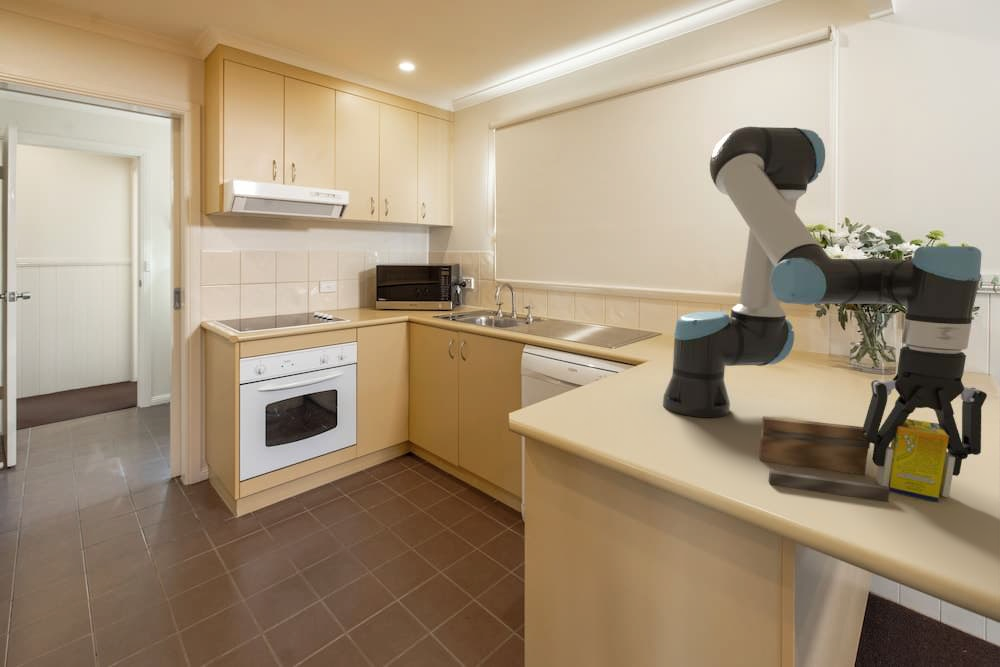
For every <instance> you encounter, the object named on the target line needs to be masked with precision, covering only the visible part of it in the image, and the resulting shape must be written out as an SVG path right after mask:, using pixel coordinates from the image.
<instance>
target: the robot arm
mask: <svg viewBox="0 0 1000 667" xmlns="http://www.w3.org/2000/svg"><path fill="white" fill-rule="evenodd" d="M709 161H710V162H709V173H710V176H711V180H712V182H713V184H714V186H715V187H716V188H717V190H718V191H719V192H720V193H721V194H723V195H727V196H728V197H729V199H730V200H731V202H732V204H733V205H734V206H735V208H736V209H737V211H738V213H739V215H741V217H742V219H743V220H744V222H745V223H746V225H747V226H748V228H749V230H748V239H747V245H746V246H747V247H746V253H745V254H746V255H745V260H744V266H743V267H744V268H743V274H742V282H741V290H740V296H739V302H738V303H737V304H735V305H734V306H732V307H731V313H730V316H729V314H728V313H726V312H723V311H699V312H691V313H688V314H687V313H686V314H684V315H682V316H680V317H678V319H677V320H676V324H675V329H674V334H673V337H674V341H673V343H674V344H673V357H672V375H671V377H670V379H669V382H668V384H667V387H666V389H665V392H664V393H663V399H662V400H663V401H662V405H663V407H664V408H666V409H667V410H668V411H671V412H673V413H677V414H680V415H685V416H690V417H698V418H719V417H726V416H727V415H729V414H730V408H731V401H730V399H729V398H730V397H729V395H728V391H727V386H726V383H725V372H726V370H725V369H726V367H727V366H729V367H734V366H735V367H736V366H738V367H739V366H740V367H741V366H757V367H763V366H767V365H775V364H779V363H781V362H782V361H784V360H785V359H786V358H787V357H788V356H789V354H790V353H791V351H792V349H793V347H794V342H795V331H794V330H793V324H792V323H791V322H790V321H789V320H788V319H786V315H787V313H786V311H785V310H784V309H783V307H782V306H781V302H782V303H784V304H785V303H786V304H795V305H806V306H807V305H821V304H822V305H827V304H842V305H843V304H844V305H845V304H847V305H848V304H850V305H851V304H853V305H854V304H855V305H856V304H858V305H860V304H862V305H863V304H869V305H870V304H874V305H875V304H881V305H892V306H901V307H905V313H904V322H903V328H902V336H901V340H900V342H901V344H903V345H904V346H903V347H901V348H900V350H899V356H898V364H897V372H896V374H895V376H894V377H893V378H892V380H886V381H885V380H884V381H879V380H876V379H874V380H872V381H871V384H870V385H871V386H870V387H871V393H872V396H871V399H870V402H869V405H868V409H867V413H866V415H865V416H866V417H865V419H864V424H863V426H862V427H863V429H862V433H861V435H862V437H863V438H864V439H865V440H866V441H868V442H869V443H870V444H873V452H872V457H871V458H872V463H874V465H876V466H877V471H876V477H875V478H876V479H875V481H876V482H877V484H878V485H882V486H887V487H888V488H889V480H890V473H891V466H892V459H893V452H894V450H893V449H892V448H891V442H892V440H893V438H894V437H895V435H896V434H897V427H898V426H902V425H903V423H904V422H905V420H906V419H908V417H909V416H910V414H912V413H914V412H915V410H916V409H925V408H928V409H932V410H933V411H934V412H935V415H936V417H937V422H938V424H939V425H940V426H941V427H942V428H943V429H944V430H945V432H946V434H947V435H948V436H949V439H948V445H947V451H946V456H945V461H944V467H943V474H942V480H941V486H940V491H939V495H940V496H941V497H946V498H949V497H950V492H951V486H952V481H953V476H955V477H958V476H959V475H960V474H961V469H962V468H961V467H962V463H963V462H962V461H963V460H966V459H967V458H968V457H969V455H975V456H978V455H980V454H981V452H982V407H983V405H984V403H985V401H986V399H987V396H988V395H987V393H986V392H984V391H983V390H980V389H978V388H976V387H966V386H964V384H963V382H962V381H963V380H962V378H963V375H964V371H965V365H966V361H967V360H966V359H967V355H966V353H965V352H963V351H964V350H966V349H968V347H969V346H968V345H969V339H970V335H971V330H972V329H971V328H972V321H973V320H972V319H973V311H974V306H975V302H976V296H977V293H978V288H979V283H980V280H981V277H982V274H981V270H982V269H981V267H982V266H981V265H982V251H981V250H980V249H979V248H978V247H976V246H972V245H971V246H968V245H967V246H966V245H963V246H962V245H952V246H951V245H950V246H949V245H945V246H944V245H937V246H932V245H931V246H919V247H917V248H916V249H915V250H914V252H913V253H914V254H913V257H912V258H911V259H899V258H898V259H895V258H894V259H893V258H878V257H875V258H869V257H868V258H831V257H829V255H828V254H827V252H826V251H825V250H824V249H823V247H822V246H821V244H820V243H819V242H818V241H817V240H816V238H815V237H814V236H813V234H812V233H811V231H810V230H809V228H807V226H806V224H804V222H803V221H802V220H801V218H800V217H799V216H798V215H797V213H796V209H797V201H798V200H799V199H800V198H801V197H802V196H803V195H804V194H806V193H807V189H808V185H809V184H812V183H813V182H814V181H816V180H817V179H818V178H819V174H820V173H822V171H823V168H824V167H825V162H826V147H825V143H824V141H823V139H822V138H821V137H820V136H819V134H818V133H816V132H815V131H814V130H810V129H806V128H798V127H767V126H764V127H763V126H759V127H758V126H745V127H740V128H738V129H735V130H733V131H731V132H730V133H728V134H726V135H725V136H723V138H722V139H721V140H720V141H719V142H718V143H717V144H716V145H715V148H714V149H713V151H712V154H711V156H710V160H709ZM893 390H896V392H897V393H898V395H899V396H898V397H897V399H896V400H895V403H894V406H893V407H892V409H891V410H890V413H889V414H888V415H887V417H886V419H885V420H884V422H883V423H882V420H883V417H884V413H885V411H886V406H887V403H888V398H889V397H888V396H890V395H891V394H892V391H893ZM958 396H960V399H961V400H962V404H961V405H962V406H961V435H960V432H959V429H958V426H957V422H956V418H955V416H954V415H955V412H954V409H953V405H952V403H951V402H953V401H954V400H955V399H956V398H957V397H958ZM881 423H882V424H881Z"/></svg>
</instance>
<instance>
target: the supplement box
mask: <svg viewBox="0 0 1000 667" xmlns="http://www.w3.org/2000/svg"><path fill="white" fill-rule="evenodd" d="M948 439H949V436H948V435H947V434H946V432H945V430H944V429H943V428H942V427H941V426H940V425H939V422H938V423H936V422H930V421H924V420H917V419H911V418H907V419H906V420H905V422H904V423H903V425H902V426H898V427H897V434H896V435H895V437H894V438H893V440H892V442H891V443H890V447H891V448H892V449H893V450H894V452H893V459H892V466H891V473H890V480H889V486H888V488H889V489H890V491H889V493H892V494H899V495H902V496H907V497H911V498H916V499H921V500H924V499H925V501H930V502H934V503H938V502H939V497H940V493H939V491H940V486H941V480H942V474H943V467H944V461H945V456H946V451H947V452H948V449H947V445H948Z"/></svg>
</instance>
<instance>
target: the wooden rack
mask: <svg viewBox="0 0 1000 667" xmlns="http://www.w3.org/2000/svg"><path fill="white" fill-rule="evenodd" d="M862 429H863V426H860V425H859V426H857V425H850V424H849V425H848V424H838V423H830V422H821V421H820V422H817V421H810V420H800V419H790V418H781V417H772V416H771V417H770V416H762V422H761V431H760V432H761V433H760V441H759V453H758V459H759V461H761V462H766V463H767V462H768V463H774V464H775V463H776V464H781V465H782V464H783V465H790V466H798V467H804V468H805V467H806V468H811V469H819V470H828V471H835V472H842V473H848V472H849V474H855V473H856V475H863V476H865V474H866V467H867V460H868V452H869V449H870V446H871V443H869V442H868V441H866V440H865V439H864V438H863V437H862V435H861V433H862ZM768 484H769V485H772V486H778V487H785V488H793V489H799V490H805V491H813V492H819V493H825V494H831V495H832V494H833V495H838V496H845V497H846V496H847V497H851V498H852V497H853V498H857V499H858V498H859V499H867V500H872V501H880V502H886V503H887V502H889V498H890V497H889V496H890V489H889V486H888V487H887V486H882V485H879V484H874V483H873V484H872V483H866V482H861V481H860V482H859V481H852V480H845V479H838V478H832V477H831V478H830V477H824V476H823V477H822V476H817V475H816V476H815V475H809V474H802V473H795V472H794V473H793V472H788V471H779V470H773V469H769V473H768Z"/></svg>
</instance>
